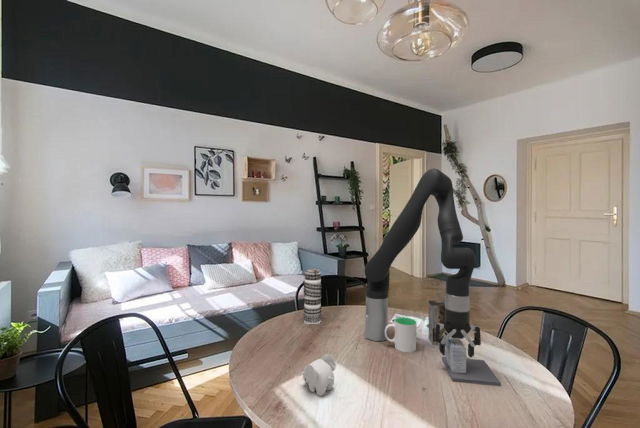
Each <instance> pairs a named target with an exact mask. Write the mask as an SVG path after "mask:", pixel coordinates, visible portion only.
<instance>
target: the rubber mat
mask: <svg viewBox="0 0 640 428" xmlns="http://www.w3.org/2000/svg"><path fill="white" fill-rule="evenodd" d="M441 360H442V363H443V364H444V366H445V369H446V371H447V373H448V375H449V377H450V379H451V382H455V383H456V382H458V383H464V384H465V383H466V384H477V385H488V386H495V387H496V386H497V387H500V386H502V384H501V383H502V382H501V381H500V379H498V377H497V375H495V373H494V372H493V370H492V369H491V367H490V366H489V365H488V364H487V362H486V361H485V360H484V359H474V358H466V373H453V372H452V371H451V369H450V367H449V365H448V363H447V361H446V356H441Z"/></svg>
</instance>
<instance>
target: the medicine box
mask: <svg viewBox="0 0 640 428" xmlns="http://www.w3.org/2000/svg"><path fill="white" fill-rule="evenodd" d="M445 357H446V361H447V363H448V365H449V367H450V369H451V371H452V372H453V373H466V359H467V347H466V346H465V344H464V342H462V339H459V338H452V337H451V338H450V339H449V340H447V341H446V345H445Z"/></svg>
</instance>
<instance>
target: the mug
mask: <svg viewBox="0 0 640 428" xmlns="http://www.w3.org/2000/svg"><path fill="white" fill-rule="evenodd" d="M390 327H392V328H393V329H394V336H393V338H389V336H388V337H387V334H386V331H387V329H388V330H389V328H390ZM385 337H386V338H387V339H386V340H387V341H388V342H391V343H394V348H395V349H396V350H397V351H398V352H399V351H400V352H403V353H413V352H415V351H417V320H415V319H413V318H410V317H405V316H403V317H396V318H395V319H394V323H388V325H387V326H386V328H385Z"/></svg>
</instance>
